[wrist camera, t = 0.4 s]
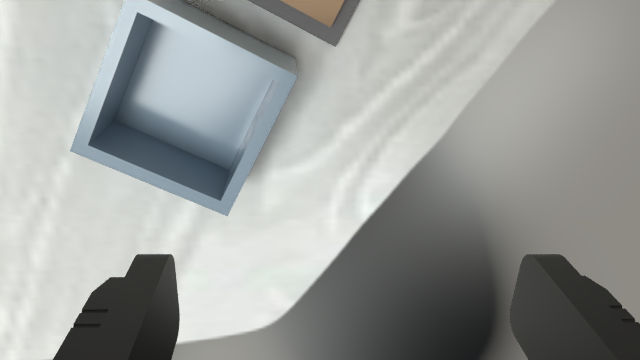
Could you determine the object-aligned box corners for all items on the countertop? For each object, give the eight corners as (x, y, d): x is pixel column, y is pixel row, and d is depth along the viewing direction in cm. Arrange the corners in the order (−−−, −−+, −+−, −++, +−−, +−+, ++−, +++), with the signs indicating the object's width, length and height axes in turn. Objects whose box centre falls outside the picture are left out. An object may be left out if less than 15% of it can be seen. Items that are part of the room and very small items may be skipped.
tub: (154, -14, 32) (127, -10, 26) (295, 58, 34) (297, 76, 29) (103, 121, 35) (69, 151, 30) (235, 179, 37) (227, 216, 32)
